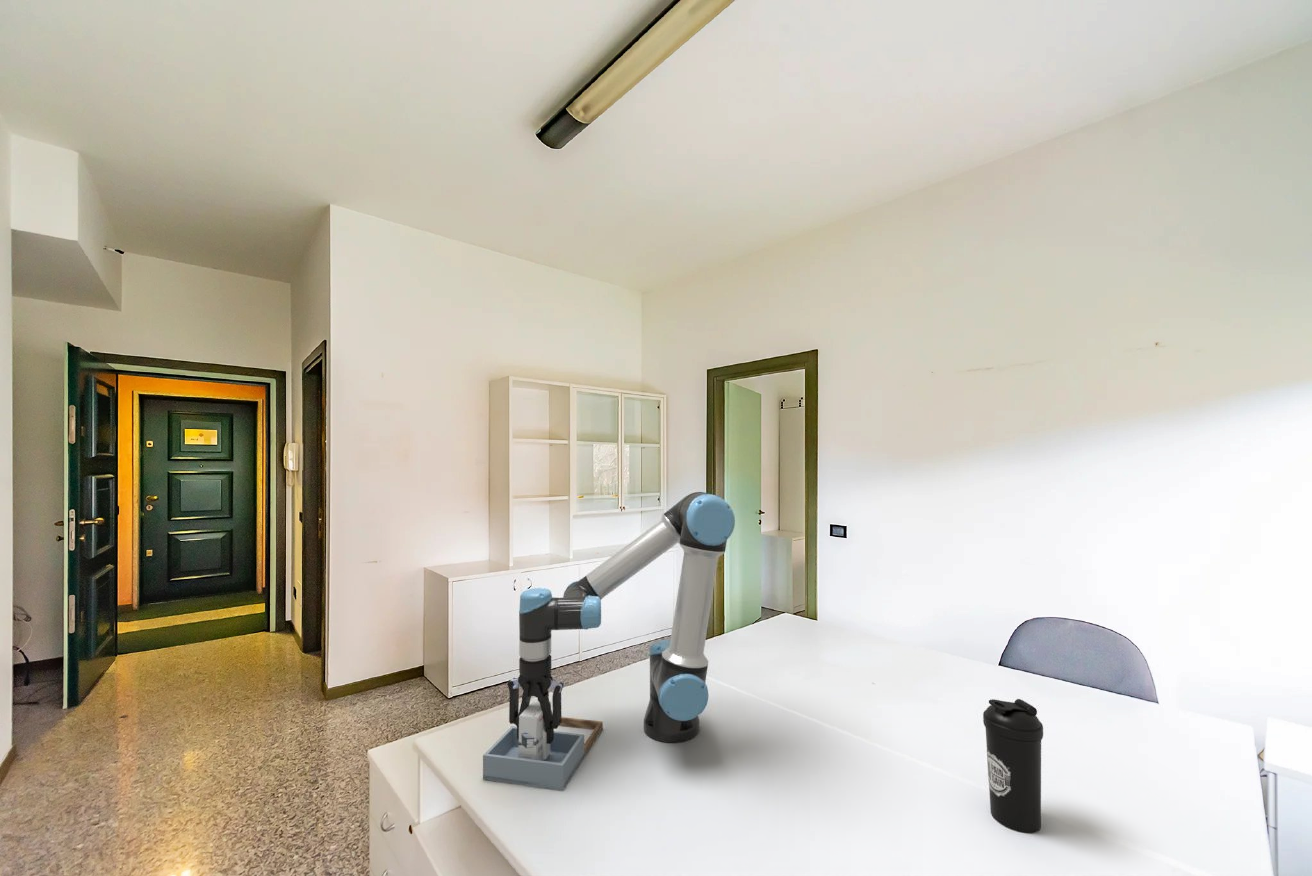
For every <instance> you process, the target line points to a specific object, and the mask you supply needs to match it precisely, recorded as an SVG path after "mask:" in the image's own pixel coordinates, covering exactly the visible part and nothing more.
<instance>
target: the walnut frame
mask: <svg viewBox="0 0 1312 876" xmlns="http://www.w3.org/2000/svg"><path fill="white" fill-rule="evenodd" d="M559 726H560V727H569V728H576V729H577V728H578V729H584V730H585V729H587V730H593V731H592V732H591V734H590V735H589V736H588V738H587V740H586V741H585V742H584V744H585V757H586V756H587V754H588V753H589V751H590V750H591V748H592V746H593V745H594V743H595V742H596V740H597V739H598V737H599V736H600V734H601V732H603V729H604V727H603V726H604V723H603V721H601V720H595V719H593V720H592V719H583V718H574V717H565V716H562V722H561V724H560V725H559ZM559 726H558V727H559Z"/></svg>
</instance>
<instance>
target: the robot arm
mask: <svg viewBox="0 0 1312 876" xmlns="http://www.w3.org/2000/svg"><path fill="white" fill-rule="evenodd" d="M660 519H661V520H659V521H658V522H657V523H655V524H653V526H651V527H650V528H649V529H647V530H646V531H645V532H643V533H642V534H640V535H639V536H638V537H636V538H635V539H633V540H632V541H631V542H630V543H628V544H627V545H625V546H624V547H623V548H622V549H619V551H617V552H616V553H615V554H613V555H612V556H611V557H609V558H608V559H606V560H605V561H604V562H602V563H601V564H600V565H598V566H597V567H595V568H594V569H593V570H592V571H590V572H589V573H588V574H586V575H585V576H583V577H582V578H580V579H579V580H576V581H573V582H571V583H570V584H568V586H567V587H566V588H565V590H564V592H563V595H562V596H563V597H553V594H552V591H551V589H548V588H541V587H537V588H536V587H535V588H529V589H526V590H524V591H522V593H521V594H520V596H519V611H518V613H519V614H518V619H519V623H518V625H519V626H518V627H519V628H518V630H519V637H518V639H519V641H518V642H519V647H518V648H519V649H518V654H519V659H518V666H519V667H518V670H519V671H518V673H519V676H518V677H517V678H516V677H513V678H511V680H509V681H508V682H507V683H506V684H507V688H508V690H509V691H508V692H509V708H508V710H509V711H508V713H509V714H508V722H509V724H511V725H513V724H514V725H515V727H517V739H518V740H519V716H520V715H521V713H522V712H523V711H524V710H525V709H526V708H527V707H528V706H529V705H530V704H531V700H532V697H535V698H537V700H538V702H540V706H541V710H542V711H543V719H544V724H545V729H544V730H543V748H542V759H545V760H546V758H547V757H548V756H549V754H550V744H551V743H552V741H553V739H554V731H555V729H556V730H557V729H558V728H559V725H560V724H561V722H562V717H563V716H562V692H563V688H564V683H563V682H561V681H560V682H557V681H555V680H554V678H553V676H552V655H551V654H552V631H565V630H566V631H568V630H590V629H597V628H599V627H600V626H601V625H602V599H604V598H605V597H606V596H608V595H609V594H610V593H612V592H614V590H616V589H617V588H618V587H620V586H621V585H623V584H624V583H626V582H627V581H628V580H630V579H631V578H632V577H634V576H635V575H636V574H638V573H639V572H640V571H642V570H643V569H644V568H646V567H647V566H648V565H650V564H651V563H653V562H654V561H655V560H656V559H658V558H659V557H661V556H662V555H663V554H665V552H667V551H668V550H670V549H671V548H672V547H674V546H676V545H677V544H679V546H680V547H681V548H682V550H683V557H682V562H681V563H682V564H681V569H680V577H679V583H678V589H677V596H676V597H677V598H676V603H675V610H674V615H673V622H672V628H671V635H670V639H663V640H657V641H655V642H653V643H651V644H650V646H649V654H648V657H649V701H648V705H647V708H646V710H645V714H644V718H643V731H644V733H645V734H646V736H648V737H649V738H651V739H653V740H656V741H659V742H664V743H681V742H686V741H688V740H690V739H692V738H694V737H696V736H697V735H698V734H699V732H700V727H701V726H700V717H699V715H701V714H702V713H703V712H704V711H705V709H706V707H707V705H708V702H709V689H708V685H707V683H706V680H707V673H708V667H709V660H708V658H707V656H706V655H705V654H704V652H705V646H706V645H705V644H706V639H707V632H708V628H709V627H708V626H709V619H710V613H711V608H712V600H713V594H714V587H715V586H714V585H715V580H716V576H717V575H716V573H717V568H718V567H717V566H718V560H719V557H721V556H722V555H724V554H725V553H726V548H727V542H728V539H729V538H730V537H731V536H732V534H733V533H734V529H735V525H736V519H735V514H734V510H733V509H732V507H731V506H730V504H729V503H728V502H727V501H726V500H725V499H724V498H722V497H720V496H719V495H715V494H711V493H707V492H703V491H696V492H692V493H689V494H688V495H685V497H683V498H682V499H680V500H679V501H678V502H677V503H676V504H674V505H673V506H672V507H671V508H669V509H668V510H667V511H666V512H664V513H663V514H662V515H661V518H660ZM520 687H521V689H522V691H523V692H522V695H521V703H520V701H519V700H520ZM550 687H551V693H552V698H551V701H550V694H549V688H550ZM550 702H551V706H550ZM519 705H520V706H519Z"/></svg>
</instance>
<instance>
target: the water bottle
mask: <svg viewBox="0 0 1312 876" xmlns="http://www.w3.org/2000/svg"><path fill="white" fill-rule="evenodd" d="M988 704H990V705H988V706H987V708H986V709H985V710H984V711H983V714H982V717H983V718H982V722H983V726H984V728H985V740H986V742H985V743H986V758H987V777H988V786H989V787H988V789H989V790H988V791H989V805H990V806H989V807H990V808H989V809H990V814H991V816H992V818H993V819H994V820H995V821H996V822H997V823H999V824H1000V825H1002V826H1004V828H1007V829H1010V830H1013V831H1015V832H1018V833H1024V834H1034V833H1035V834H1036V833H1038V832H1039V831H1041V829H1042V740H1043V738H1044V725H1043V724H1042V722H1041V720H1040V719H1039V718H1038V716H1037V714H1038V710H1037V708H1036V707H1034V706H1033V705H1032V704H1030V703H1028V702H1027V701H1024V700H1023V699H1021V698H1017V699H1015V701H1014V702H1012V701H1005V700H1000V699H995V698H994V699H993V698H992V699H989V700H988Z"/></svg>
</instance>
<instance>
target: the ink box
mask: <svg viewBox="0 0 1312 876" xmlns="http://www.w3.org/2000/svg"><path fill="white" fill-rule="evenodd" d="M550 706H551V707H552V701H550ZM544 729H545V724H544V719H543V711H542V710H541V706H540V702H538V699H537V700H536V699H535V700H534V699H533V700H532V702H530V704H529V706H528V707H527V708H526V709H525V710H524V711H523V712H522V713H521V715H520V716H519V749H518V758H525V759H533V760H540V761H542V760H543V759H542V748H543V730H544ZM550 750H551V744H550Z"/></svg>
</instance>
